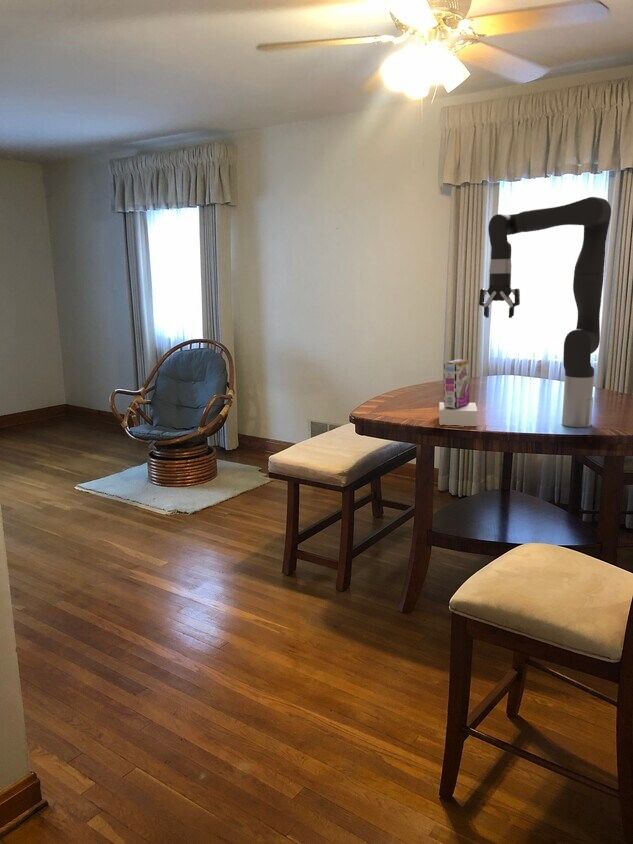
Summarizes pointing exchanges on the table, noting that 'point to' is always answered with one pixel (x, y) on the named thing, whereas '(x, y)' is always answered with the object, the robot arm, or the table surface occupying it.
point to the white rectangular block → (458, 415)
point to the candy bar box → (456, 383)
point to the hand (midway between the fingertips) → (498, 317)
